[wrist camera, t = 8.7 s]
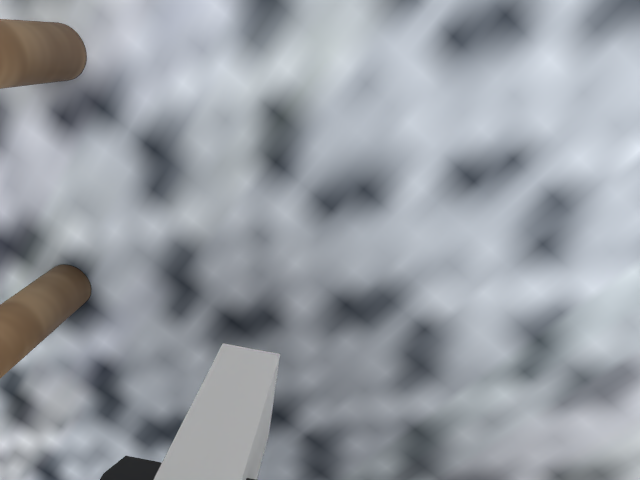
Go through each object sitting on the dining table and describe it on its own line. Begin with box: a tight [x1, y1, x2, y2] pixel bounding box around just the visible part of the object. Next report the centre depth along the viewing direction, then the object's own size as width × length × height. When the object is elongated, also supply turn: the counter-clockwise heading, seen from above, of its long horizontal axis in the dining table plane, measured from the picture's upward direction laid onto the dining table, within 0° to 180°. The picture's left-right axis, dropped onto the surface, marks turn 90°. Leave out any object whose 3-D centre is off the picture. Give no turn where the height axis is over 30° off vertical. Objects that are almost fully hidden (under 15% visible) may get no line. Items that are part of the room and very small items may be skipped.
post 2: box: [0, 265, 91, 378], centre depth 25 cm, size 3×3×9 cm
